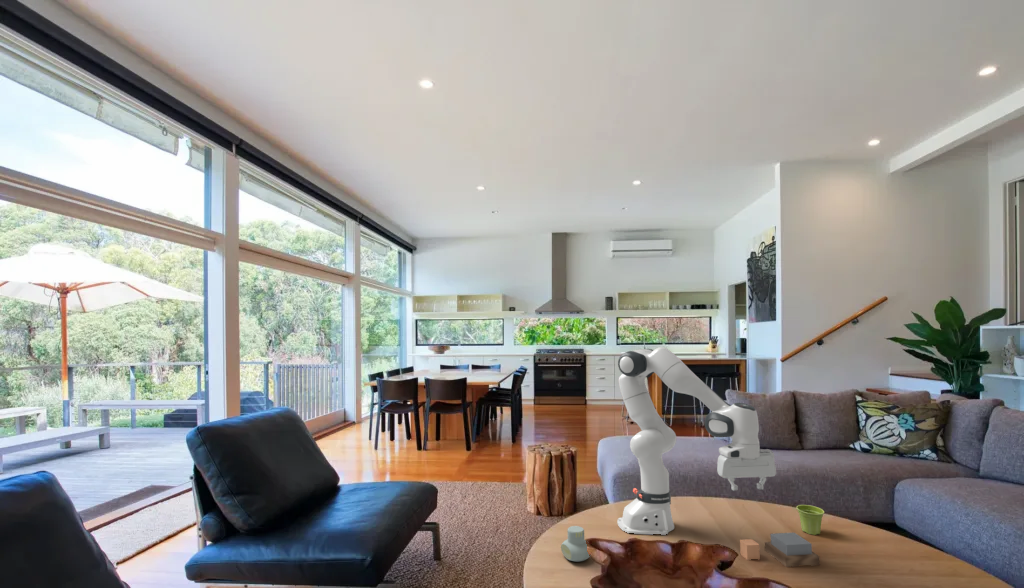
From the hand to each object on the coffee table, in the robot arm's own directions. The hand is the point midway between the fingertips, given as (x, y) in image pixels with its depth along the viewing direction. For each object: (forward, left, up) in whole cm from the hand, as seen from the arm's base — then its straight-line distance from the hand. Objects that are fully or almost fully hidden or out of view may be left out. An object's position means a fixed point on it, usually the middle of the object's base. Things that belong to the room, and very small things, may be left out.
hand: (747, 489), depth 174 cm
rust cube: (0, 0, -23) cm, 23 cm away
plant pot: (+35, +17, -23) cm, 45 cm away
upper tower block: (+14, -2, -20) cm, 25 cm away
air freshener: (-61, +5, -23) cm, 66 cm away
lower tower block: (+14, -2, -24) cm, 28 cm away
